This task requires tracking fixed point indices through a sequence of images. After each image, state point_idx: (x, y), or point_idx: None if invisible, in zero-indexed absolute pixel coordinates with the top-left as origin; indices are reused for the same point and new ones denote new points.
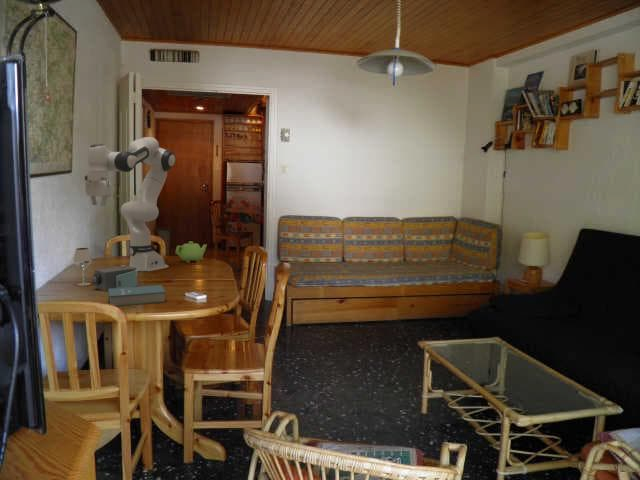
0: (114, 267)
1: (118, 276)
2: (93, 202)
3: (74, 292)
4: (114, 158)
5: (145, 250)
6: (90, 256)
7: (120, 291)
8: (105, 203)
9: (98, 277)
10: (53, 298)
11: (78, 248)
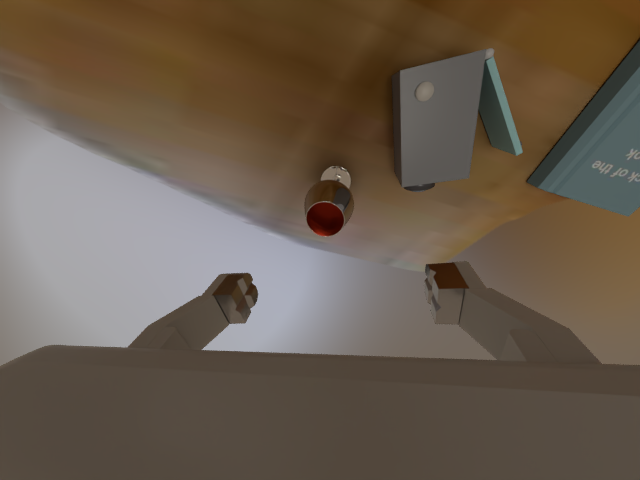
0: (408, 123)
1: (520, 148)
2: (249, 314)
3: (403, 219)
4: None
5: None
6: (343, 190)
7: (614, 178)
8: (479, 281)
9: (434, 183)
10: (425, 259)
11: (308, 225)
